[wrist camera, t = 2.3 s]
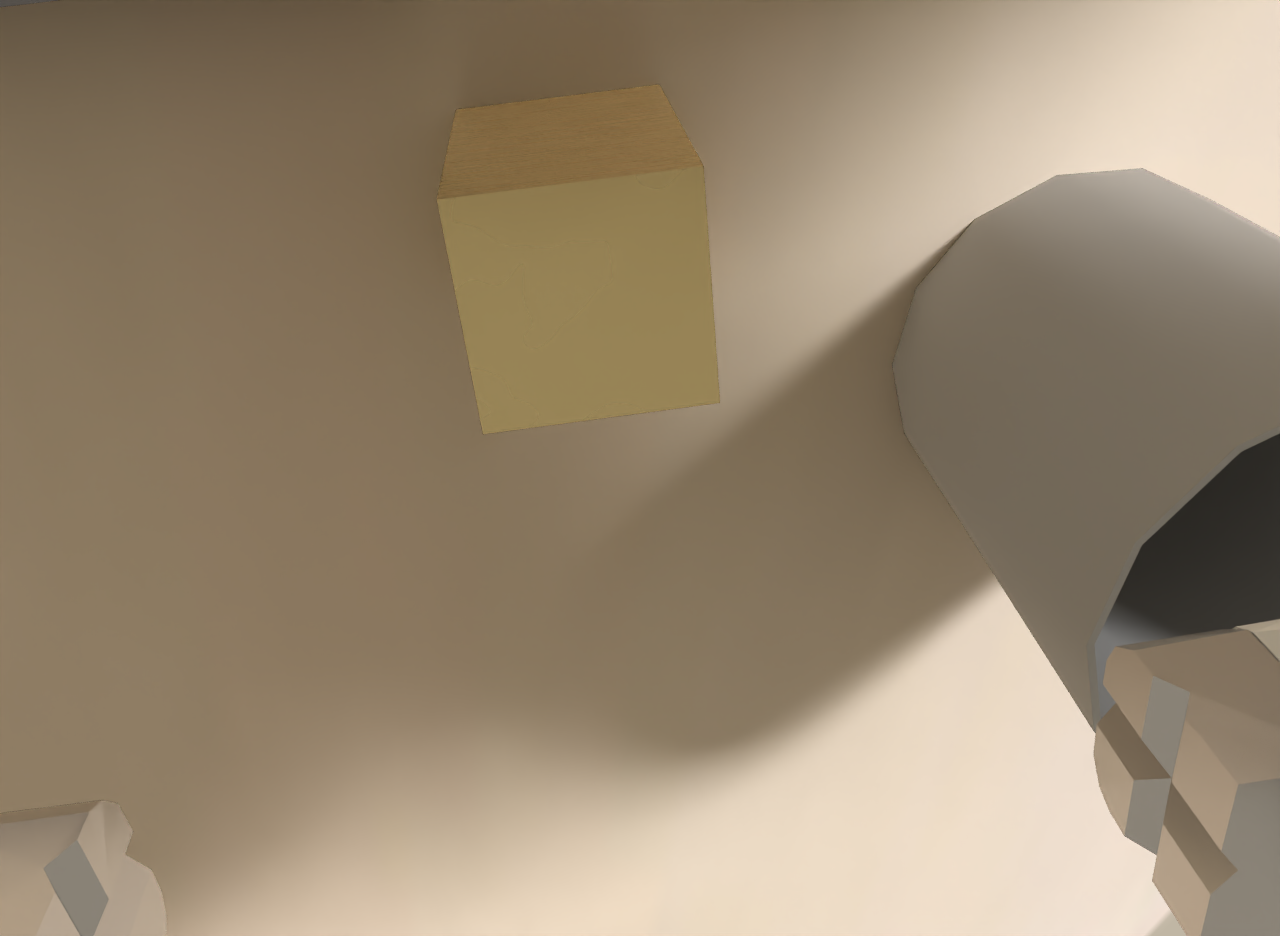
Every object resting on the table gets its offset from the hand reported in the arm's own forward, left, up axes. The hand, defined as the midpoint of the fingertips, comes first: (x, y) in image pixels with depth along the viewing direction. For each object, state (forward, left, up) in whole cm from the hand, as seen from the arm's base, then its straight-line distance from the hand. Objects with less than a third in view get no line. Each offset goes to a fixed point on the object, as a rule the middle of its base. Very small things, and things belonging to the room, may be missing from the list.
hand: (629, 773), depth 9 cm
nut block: (0, 0, -16) cm, 16 cm away
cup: (-11, +5, -16) cm, 20 cm away
